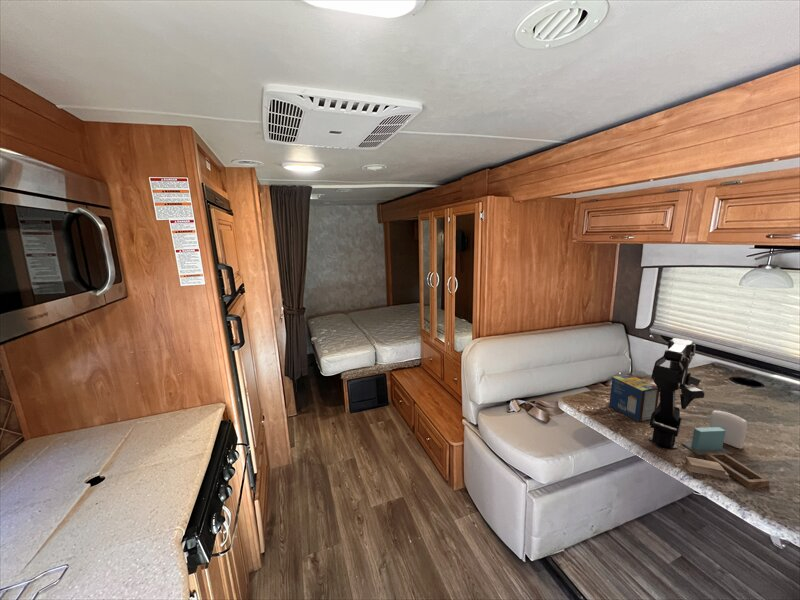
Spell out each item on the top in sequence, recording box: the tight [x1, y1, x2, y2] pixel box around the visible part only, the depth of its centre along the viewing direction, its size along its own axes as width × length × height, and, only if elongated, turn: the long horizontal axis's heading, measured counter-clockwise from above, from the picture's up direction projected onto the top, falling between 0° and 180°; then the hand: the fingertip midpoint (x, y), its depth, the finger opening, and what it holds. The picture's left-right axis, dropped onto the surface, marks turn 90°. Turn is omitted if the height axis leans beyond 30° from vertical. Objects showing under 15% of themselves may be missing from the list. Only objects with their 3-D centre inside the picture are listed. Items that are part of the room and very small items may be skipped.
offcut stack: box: [681, 456, 730, 480], centre depth 110 cm, size 5×11×3 cm, turn 68°
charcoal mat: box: [681, 442, 733, 457], centre depth 121 cm, size 13×7×1 cm, turn 92°
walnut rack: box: [704, 453, 771, 488], centre depth 109 cm, size 7×14×2 cm, turn 2°
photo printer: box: [708, 410, 748, 450], centre depth 124 cm, size 10×4×12 cm, turn 29°
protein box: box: [608, 374, 660, 422], centre depth 147 cm, size 10×15×16 cm
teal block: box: [691, 426, 726, 450], centre depth 120 cm, size 2×10×8 cm, turn 92°
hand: (673, 403), depth 131 cm, fingers open, 9 cm apart
